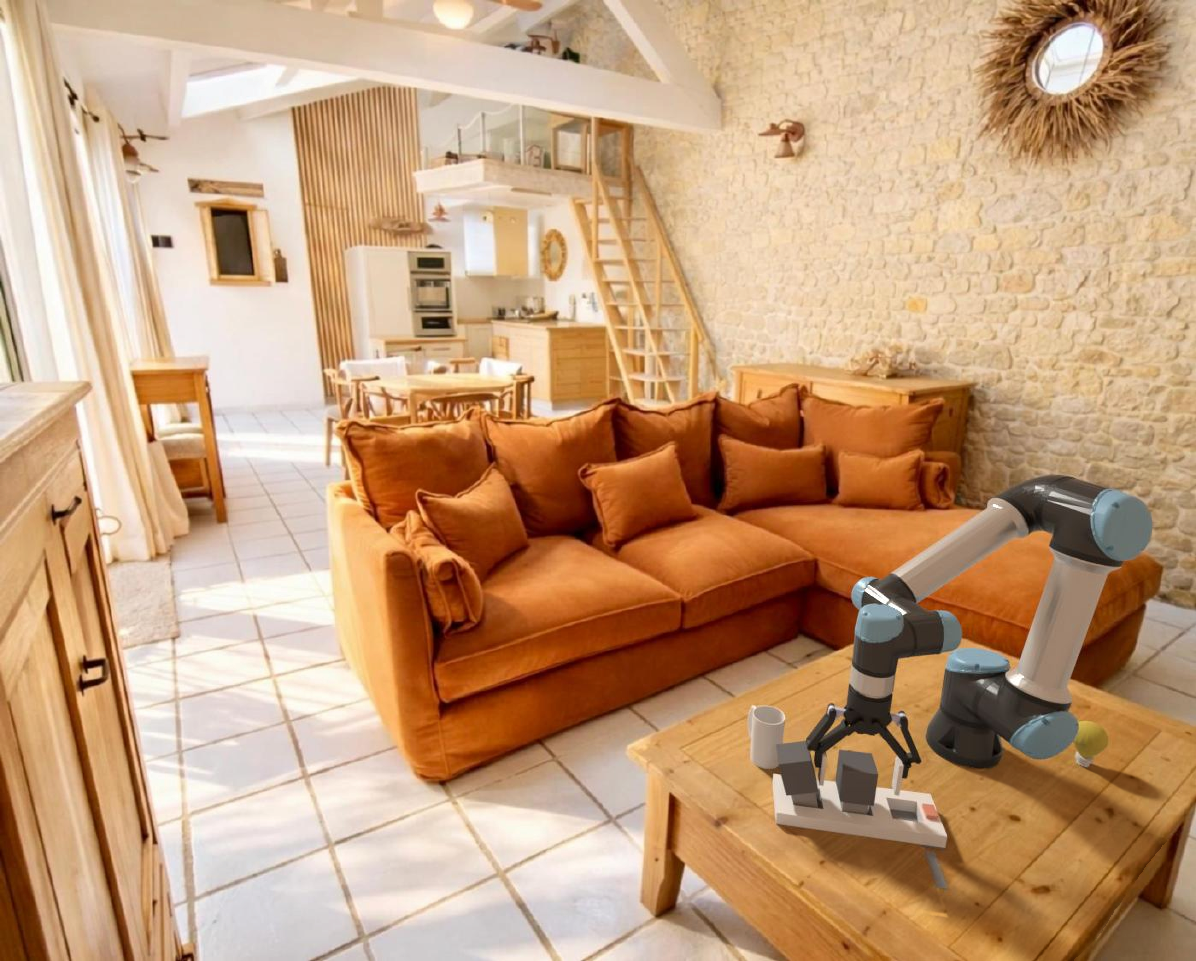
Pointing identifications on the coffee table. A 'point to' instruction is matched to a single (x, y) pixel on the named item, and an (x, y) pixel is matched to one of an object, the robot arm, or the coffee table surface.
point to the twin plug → (798, 773)
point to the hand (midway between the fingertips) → (857, 785)
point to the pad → (936, 870)
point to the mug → (765, 735)
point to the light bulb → (1089, 742)
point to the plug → (856, 781)
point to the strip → (887, 819)
